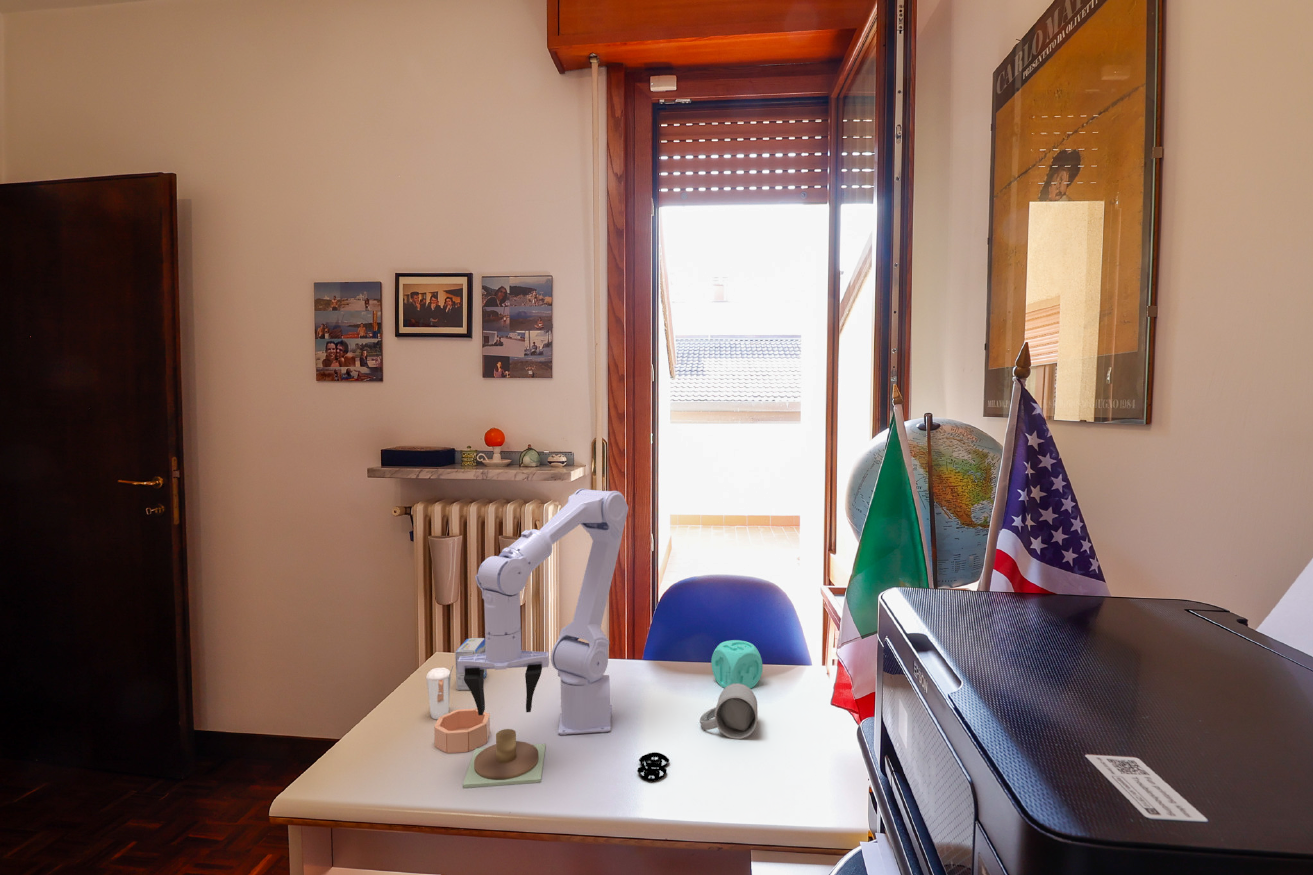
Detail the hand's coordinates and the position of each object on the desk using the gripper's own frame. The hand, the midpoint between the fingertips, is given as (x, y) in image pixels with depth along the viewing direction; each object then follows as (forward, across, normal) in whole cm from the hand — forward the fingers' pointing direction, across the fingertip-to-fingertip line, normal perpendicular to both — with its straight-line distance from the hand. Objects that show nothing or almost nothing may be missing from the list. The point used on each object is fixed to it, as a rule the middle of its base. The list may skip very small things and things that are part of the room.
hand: (505, 711), depth 106 cm
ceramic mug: (+10, +39, +8) cm, 41 cm away
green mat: (+9, 0, 0) cm, 9 cm away
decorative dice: (+10, +45, +27) cm, 53 cm away
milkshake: (+10, -15, +20) cm, 27 cm away
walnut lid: (+9, 0, 0) cm, 9 cm away
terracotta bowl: (+9, -9, +10) cm, 16 cm away
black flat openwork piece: (+10, +24, -4) cm, 26 cm away
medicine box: (+10, -12, +35) cm, 38 cm away
